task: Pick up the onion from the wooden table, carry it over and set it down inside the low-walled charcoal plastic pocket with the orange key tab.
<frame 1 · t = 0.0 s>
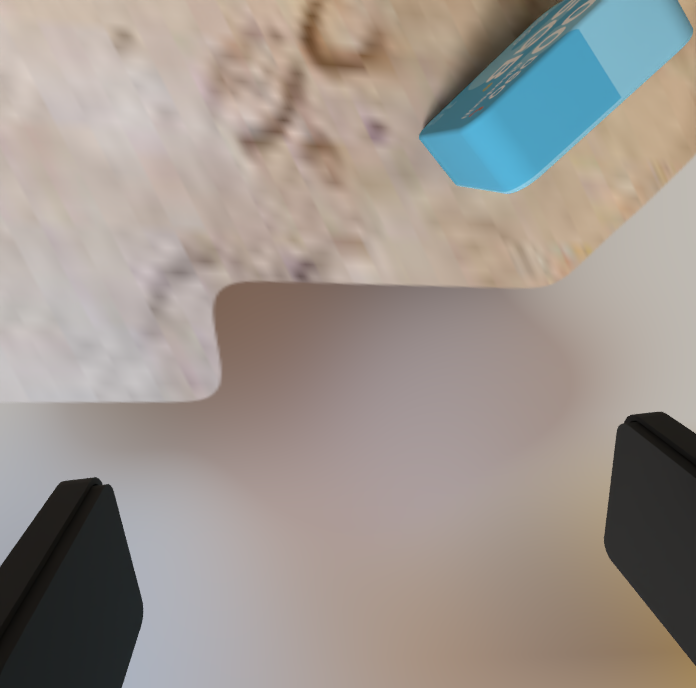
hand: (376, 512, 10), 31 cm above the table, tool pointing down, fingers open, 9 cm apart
data package: (495, 101, 37), on the table
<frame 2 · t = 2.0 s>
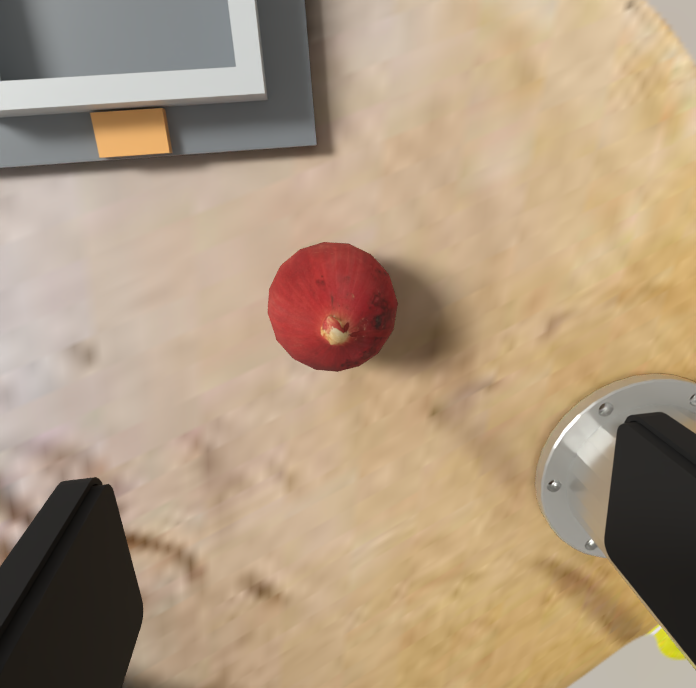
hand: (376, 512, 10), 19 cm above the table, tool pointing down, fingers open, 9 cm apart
onion: (327, 287, 28), on the table
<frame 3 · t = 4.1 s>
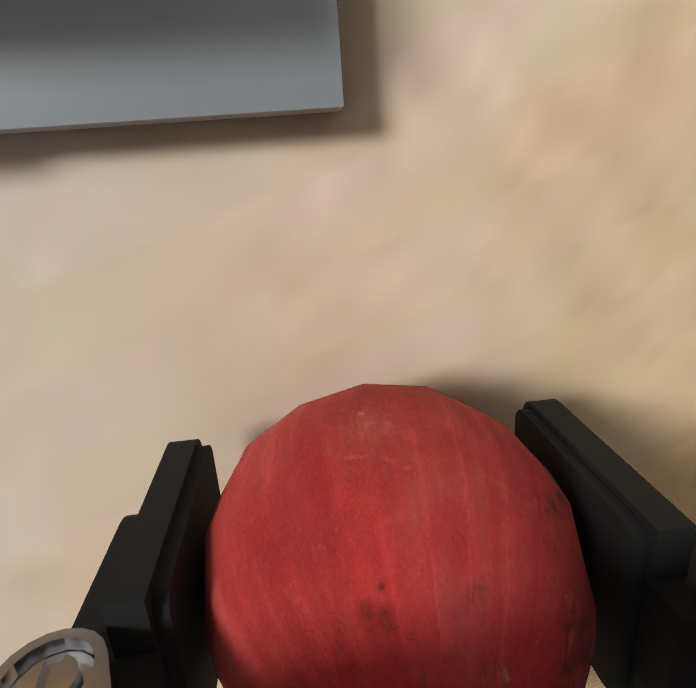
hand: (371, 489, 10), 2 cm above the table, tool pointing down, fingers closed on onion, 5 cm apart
onion: (360, 442, 12), on the table, touching gripper
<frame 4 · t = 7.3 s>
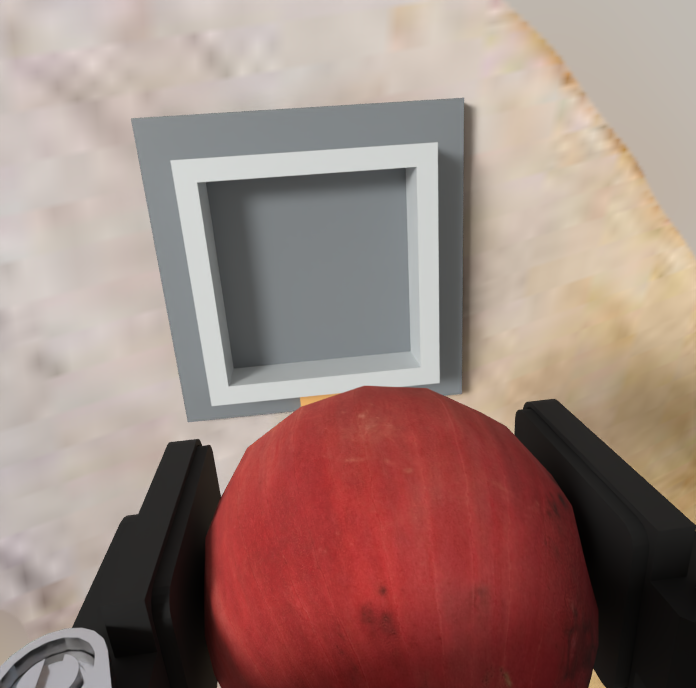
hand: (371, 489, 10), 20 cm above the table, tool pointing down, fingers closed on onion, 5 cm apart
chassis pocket: (314, 268, 29), on the table
onion: (360, 444, 12), point 18 cm above the table, touching gripper
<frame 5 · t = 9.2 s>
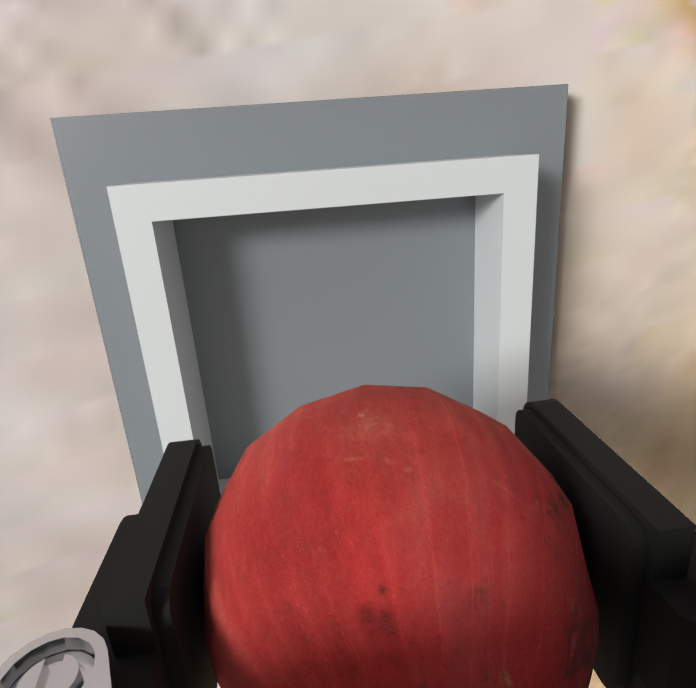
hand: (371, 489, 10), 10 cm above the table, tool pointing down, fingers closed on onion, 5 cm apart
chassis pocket: (335, 335, 20), on the table
onion: (360, 443, 12), point 8 cm above the table, touching gripper
when the fingers open (4 cm above the table, at t = 10.7 s): onion drops 2 cm, resting on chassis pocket.
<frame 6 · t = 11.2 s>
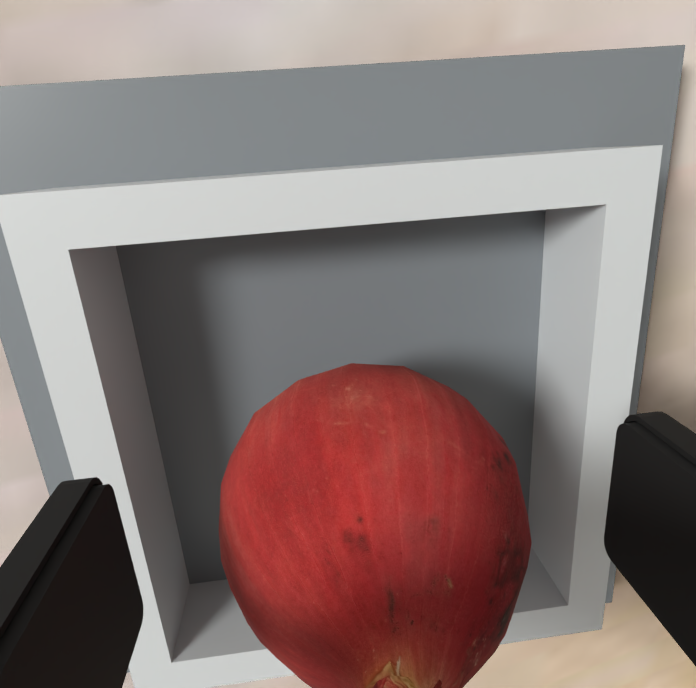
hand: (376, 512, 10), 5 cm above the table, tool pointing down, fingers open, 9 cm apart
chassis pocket: (347, 392, 15), on the table
onion: (349, 411, 14), point 1 cm above the table, touching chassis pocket
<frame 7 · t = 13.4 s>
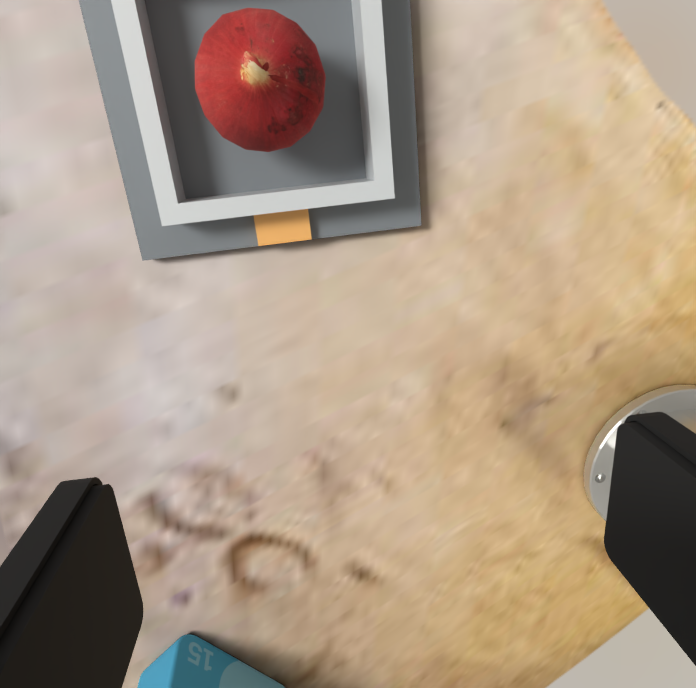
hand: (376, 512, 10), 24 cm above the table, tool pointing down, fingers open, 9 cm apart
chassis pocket: (263, 90, 28), on the table
data package: (222, 673, 43), on the table
onion: (262, 92, 27), point 1 cm above the table, touching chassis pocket
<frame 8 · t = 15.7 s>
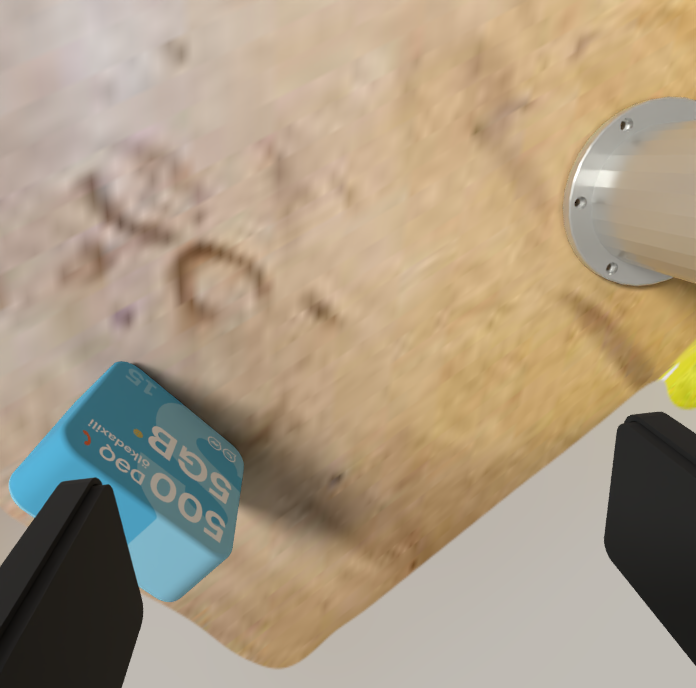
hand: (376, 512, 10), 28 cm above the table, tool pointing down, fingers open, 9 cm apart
data package: (168, 425, 40), on the table
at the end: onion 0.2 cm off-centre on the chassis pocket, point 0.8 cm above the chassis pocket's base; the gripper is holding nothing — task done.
